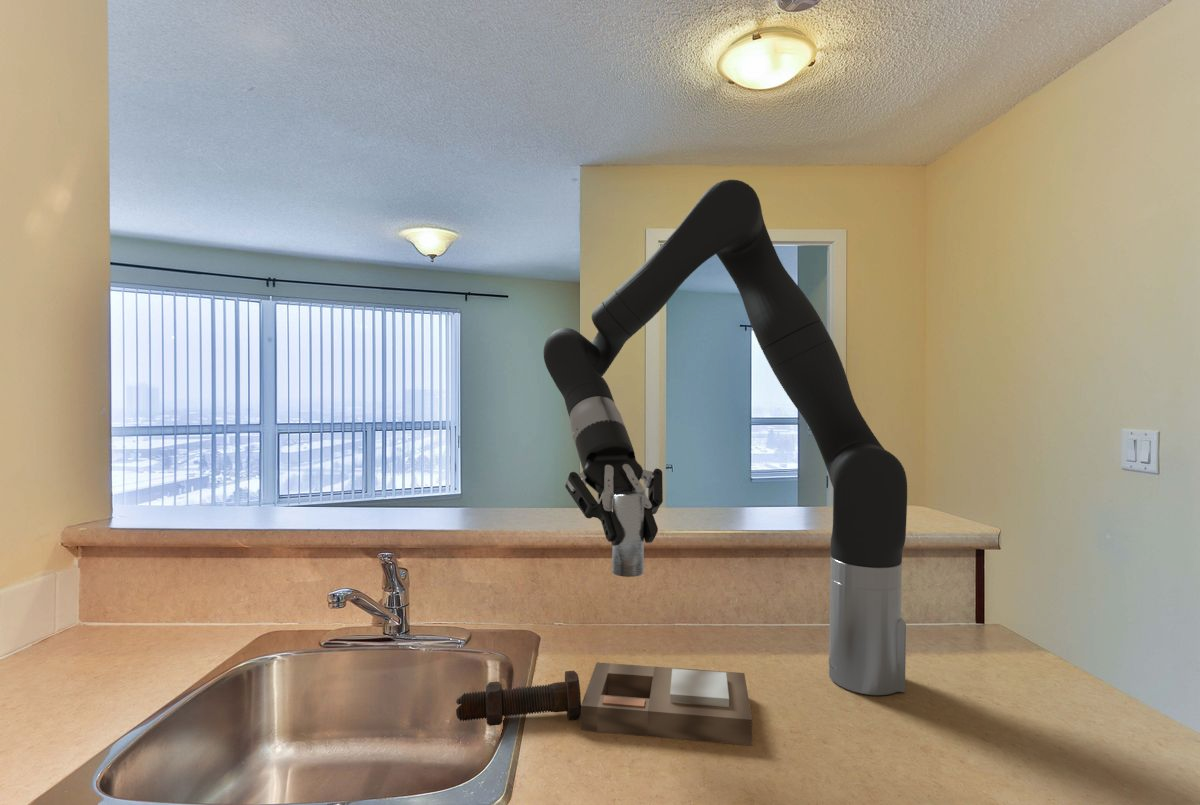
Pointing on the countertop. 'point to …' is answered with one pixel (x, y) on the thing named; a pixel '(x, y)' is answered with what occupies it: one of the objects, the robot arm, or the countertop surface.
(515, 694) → the bolt
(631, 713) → the recessed board
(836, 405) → the robot arm
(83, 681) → the countertop surface
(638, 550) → the peg
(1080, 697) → the countertop surface
